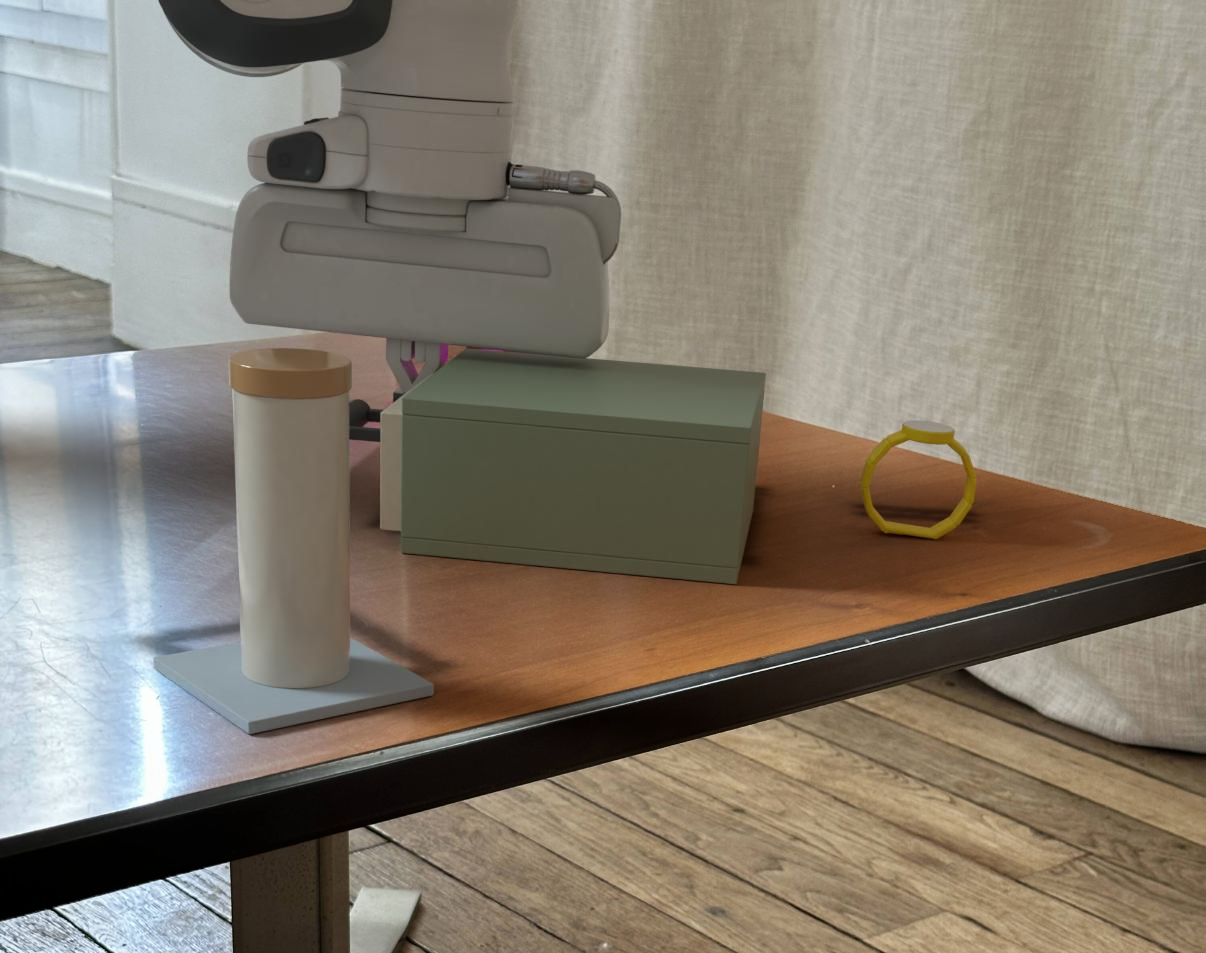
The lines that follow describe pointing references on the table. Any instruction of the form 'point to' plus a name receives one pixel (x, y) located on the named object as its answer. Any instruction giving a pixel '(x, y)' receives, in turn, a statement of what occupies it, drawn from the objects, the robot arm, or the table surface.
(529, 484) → the cabinet
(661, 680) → the table surface
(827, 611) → the table surface
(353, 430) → the drawer
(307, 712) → the mat
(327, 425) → the spice jar
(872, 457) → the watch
